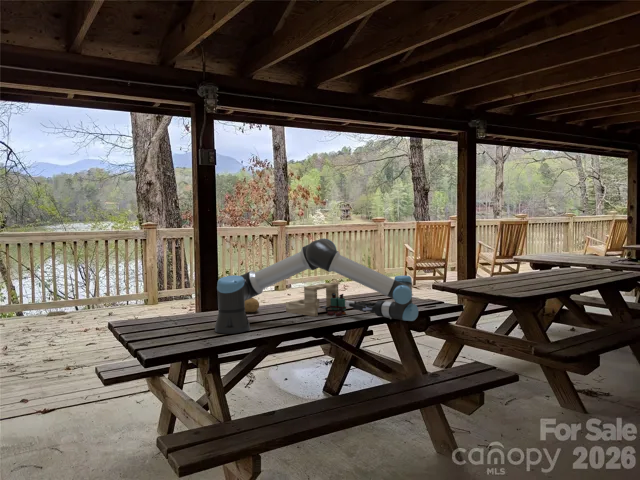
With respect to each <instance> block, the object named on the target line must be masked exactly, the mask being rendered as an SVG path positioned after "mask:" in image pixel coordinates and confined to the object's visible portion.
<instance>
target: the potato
mask: <svg viewBox="0 0 640 480" xmlns="http://www.w3.org/2000/svg"><path fill="white" fill-rule="evenodd" d="M259 308H260V301H259V300H257V299H256V298H254V297H252V298H251V299H248V300H246V301H245V313H255V312H257V311H258V310H259Z"/></svg>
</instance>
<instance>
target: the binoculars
mask: <svg viewBox="0 0 640 480" xmlns="http://www.w3.org/2000/svg"><path fill="white" fill-rule="evenodd" d="M345 301H346V299H345V298H344V293H341V294H339V298H338V297H336V294H335V293H332V298H331V299H330V302H331V305H329V306H328V307H326V308H324V309H325V311H326V312H327V316H328V317H329V316H330V317H332V316H335V317H340V316H343V315H347V313H346V310H347V307H345ZM330 309H332V310H330Z"/></svg>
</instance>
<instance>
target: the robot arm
mask: <svg viewBox="0 0 640 480" xmlns="http://www.w3.org/2000/svg"><path fill="white" fill-rule="evenodd" d="M318 269H321V270H324V271H326V272H328V273H331V272H333V273H336V274H338V275H340V276H342V277H345V278H348V279H349V280H350V281H353V282H355V283H358V284H360V285H362V286H365V287H366V288H369V289H371V290H372V291H375V292H378V293H380V294H382V295H384V296H385V297H386V296H387V297H388V298H390V299H392V300H383V299H379V300H378V299H377V301H374V302H373V301H357V300H355V301H351V300H345V307H346V308H352V309H353V310H355V311H356V310H357V311H360V312H363V313H366V312H370V313H374V314H375V315H376V316H377V317H381V318H388V319H390V320H393V319H395V320H401V321H405V322H406V321H408V322H414V321H415V320H416V319H417V318H418V316H419V308H418V305H417V304H415V303H413V281H412V277H411V276H409V275H395V276H394V278H391V277H389V276H387V275H386V274H383V273H380V272H379V271H377V270H374V269H372V268H370V267H368V266H366V265H364V264H361V263H359V262H357V261H354V260H352V259H350V258H348V257H345V256H343V255H341V254H340V252H339V251H338V249H337V247H336V245H335V243H334V242H333V241H332V240H331V239H329V238H318V239H315V240H313V241H311V242H310V243H308V244H307V245H304V246H302V247H301V250H300V251H299V252H297V253H295V254H293V255H290V256H288V257H286V258H284V259H281V260H279V261H277V262H275V263H273V264H271V265H269V266H268V265H267V267H264V268H262V269H260V270H258V271H254V270H250V271H248V272H246V273H244V274H241V275H235V274H234V275H227V276H222V277H220V278H219V279H218V280H217V284H216V285H217V286H216V290H217V309H218V311H217V313H218V314H217V318H216V322H215V325H214V332H216V333H218V334H225V335H226V334H228V335H229V334H232V335H233V334H239V333H240V334H241V333H245V332H247V331H249V330H251V329H250V321H249V318H248V316H247V312H245V301H246V300H248V299H251V298H254V297H257V296H259V295H261V294H262V293H263V290H264V289H266V288H268V287H270V286H273V285H275V284H278V283H280V282H282V281H284V280H286V279H289V278H291V277H293V276H295V275H297V274H298V275H299V274H300V273H302V272H304V271H307V270H310V271H314V270H318ZM393 300H394V301H393Z"/></svg>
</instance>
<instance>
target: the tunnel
mask: <svg viewBox="0 0 640 480" xmlns="http://www.w3.org/2000/svg"><path fill="white" fill-rule="evenodd" d="M319 290H325V299H326V300H325V301H326V303H325V306H326V307H328V306H329V305H331V302H330V299H331V298H332V293H335V294H336V297H338V298H340V296H339V295H340V294H339V293H340V292H339V283H334V282H326V283H320V284H313V285H308V286H307V285H306V286H304V287H303V296H304V297H303V299H297V300H292V301H291V300H290V301H286V302H285V311H286V313H291V314H296V313H297V315H302V314H303V315H302V316H308V317H313V318H315V317H318V309H320V308H321V306H320V298H318V291H319ZM330 310H332V309H330Z"/></svg>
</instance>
